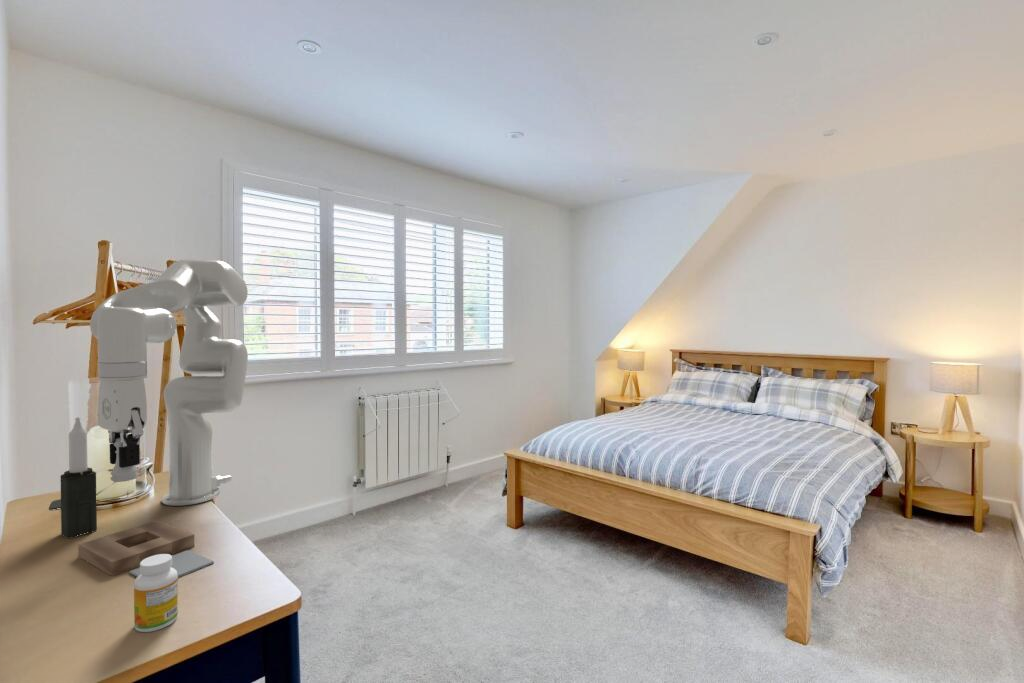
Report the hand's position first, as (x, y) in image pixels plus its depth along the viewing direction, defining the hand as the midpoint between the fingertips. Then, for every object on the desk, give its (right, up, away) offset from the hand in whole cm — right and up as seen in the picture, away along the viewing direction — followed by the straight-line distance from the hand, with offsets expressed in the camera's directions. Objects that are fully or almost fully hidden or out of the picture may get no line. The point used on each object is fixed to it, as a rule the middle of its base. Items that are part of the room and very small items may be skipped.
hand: (124, 463), depth 97 cm
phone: (-32, -17, +29) cm, 47 cm away
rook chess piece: (0, -3, 0) cm, 3 cm away
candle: (-18, -18, +10) cm, 27 cm away
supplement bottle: (+22, -19, -22) cm, 36 cm away
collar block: (+2, -18, +1) cm, 18 cm away
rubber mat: (+13, -18, -5) cm, 23 cm away
